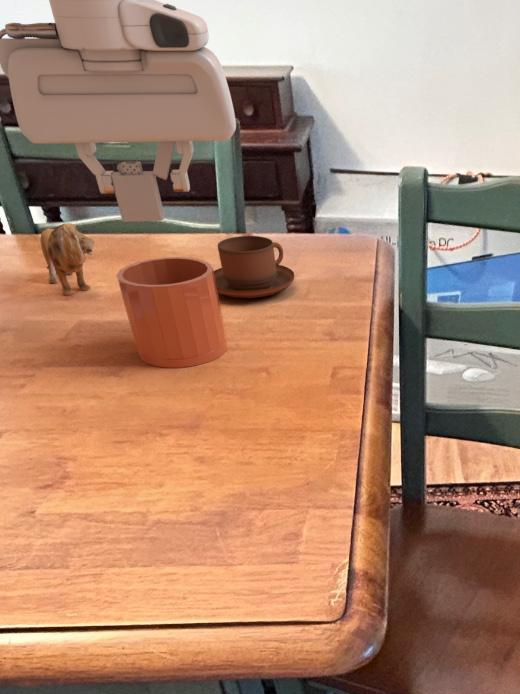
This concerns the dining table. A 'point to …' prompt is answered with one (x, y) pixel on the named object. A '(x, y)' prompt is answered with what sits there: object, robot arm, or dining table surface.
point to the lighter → (142, 187)
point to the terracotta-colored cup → (173, 311)
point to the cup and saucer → (251, 268)
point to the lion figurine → (66, 254)
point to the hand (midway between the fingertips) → (146, 191)
